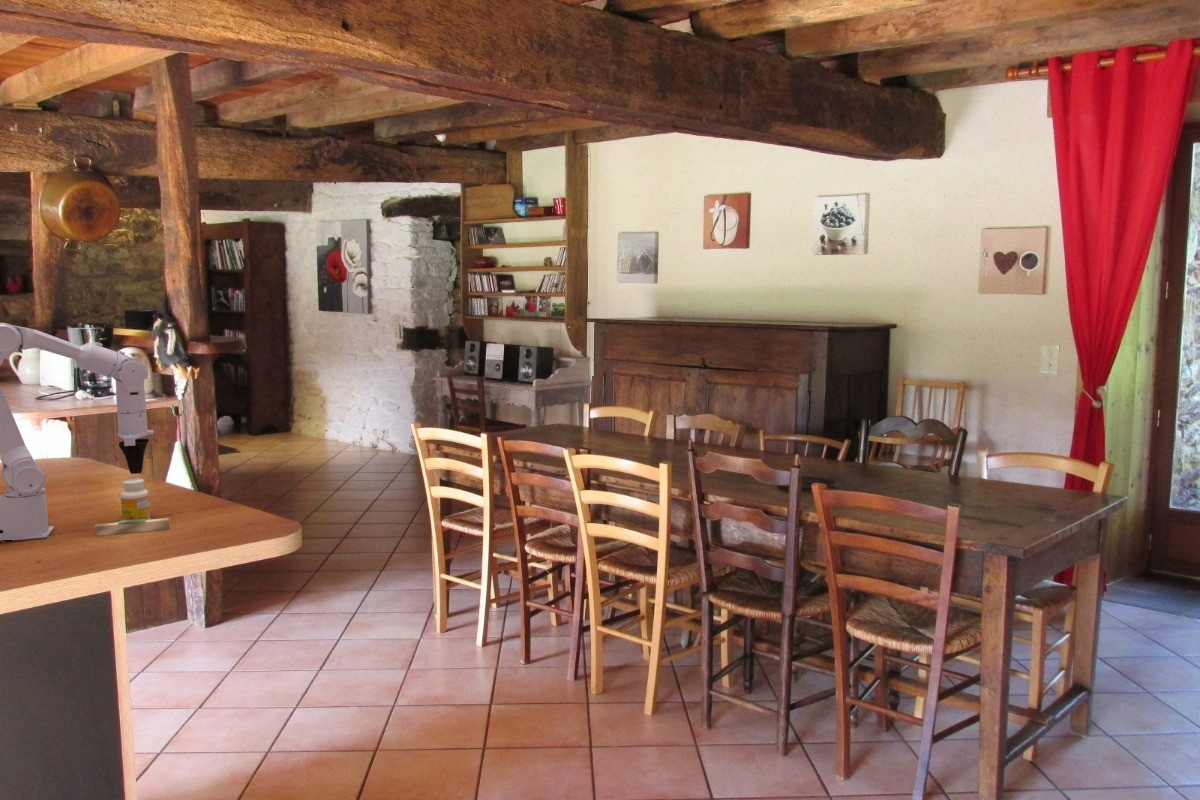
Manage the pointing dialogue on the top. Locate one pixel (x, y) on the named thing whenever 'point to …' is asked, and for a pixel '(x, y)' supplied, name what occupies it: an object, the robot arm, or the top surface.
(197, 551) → the top surface
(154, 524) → the stop rail
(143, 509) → the supplement bottle
